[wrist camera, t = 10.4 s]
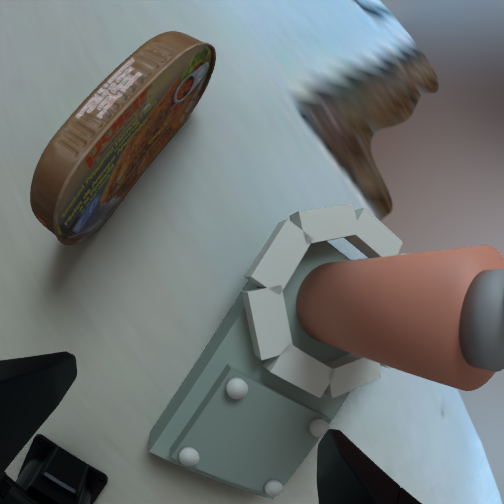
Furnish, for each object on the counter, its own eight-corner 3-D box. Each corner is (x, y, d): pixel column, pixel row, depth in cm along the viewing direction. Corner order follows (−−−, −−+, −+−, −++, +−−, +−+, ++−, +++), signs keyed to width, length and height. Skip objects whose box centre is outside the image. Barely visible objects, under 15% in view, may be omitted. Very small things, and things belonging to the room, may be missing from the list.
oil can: (358, 345, 21) (555, 395, 6) (289, 338, 20) (499, 422, 5) (371, 269, 22) (573, 254, 7) (303, 255, 20) (527, 214, 6)
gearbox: (270, 482, 21) (291, 514, 17) (138, 425, 19) (133, 458, 15) (397, 274, 26) (436, 272, 21) (291, 187, 24) (320, 167, 19)
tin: (86, 253, 20) (40, 238, 12) (54, 228, 19) (-1, 200, 11) (210, 96, 23) (232, 25, 15) (179, 77, 22) (190, 3, 14)
